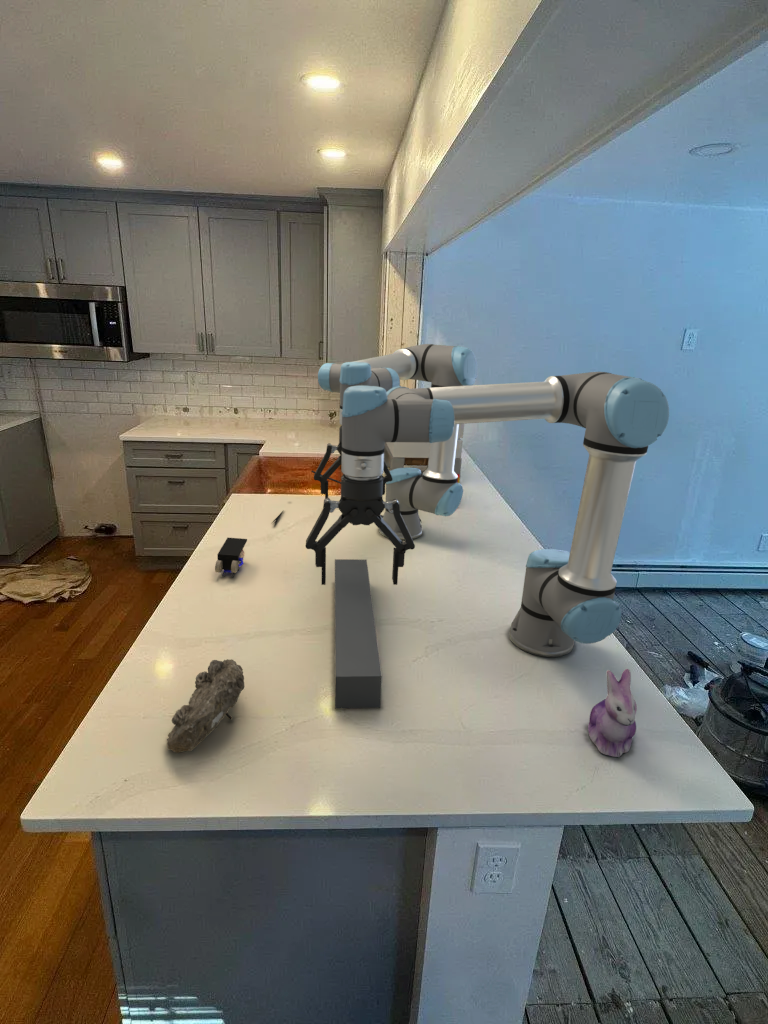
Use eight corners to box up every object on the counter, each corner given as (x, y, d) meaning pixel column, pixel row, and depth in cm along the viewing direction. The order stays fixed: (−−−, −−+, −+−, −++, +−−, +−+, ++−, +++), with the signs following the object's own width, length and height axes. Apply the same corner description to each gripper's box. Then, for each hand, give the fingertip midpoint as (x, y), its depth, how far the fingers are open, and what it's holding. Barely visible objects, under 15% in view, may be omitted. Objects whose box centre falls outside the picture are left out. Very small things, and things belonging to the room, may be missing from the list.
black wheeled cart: (238, 584, 162) (249, 557, 175) (236, 562, 158) (247, 536, 172) (215, 584, 161) (227, 556, 175) (212, 561, 158) (225, 535, 171)
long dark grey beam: (334, 583, 162) (334, 559, 160) (365, 583, 163) (366, 559, 160) (335, 708, 112) (335, 676, 109) (380, 707, 113) (381, 676, 110)
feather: (290, 505, 227) (293, 501, 226) (273, 528, 200) (276, 524, 200) (286, 502, 226) (289, 498, 226) (269, 525, 200) (272, 521, 199)
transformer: (382, 463, 289) (386, 382, 275) (445, 464, 293) (451, 384, 279) (390, 482, 257) (394, 392, 243) (460, 483, 261) (468, 394, 247)
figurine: (615, 767, 100) (631, 697, 95) (572, 730, 109) (585, 664, 103) (651, 751, 104) (668, 682, 99) (607, 716, 113) (621, 652, 108)
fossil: (192, 660, 117) (244, 628, 112) (224, 691, 120) (276, 661, 115) (142, 746, 98) (202, 712, 93) (182, 779, 101) (242, 748, 96)
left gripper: (303, 427, 137) (304, 510, 145) (405, 430, 140) (401, 511, 147) (305, 421, 144) (305, 500, 152) (402, 424, 147) (398, 501, 154)
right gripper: (290, 479, 97) (292, 590, 104) (434, 481, 99) (426, 590, 106) (293, 468, 104) (294, 572, 111) (428, 470, 106) (421, 572, 113)
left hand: (352, 506), depth 149 cm, fingers open, 13 cm apart
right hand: (359, 581), depth 108 cm, fingers open, 13 cm apart
